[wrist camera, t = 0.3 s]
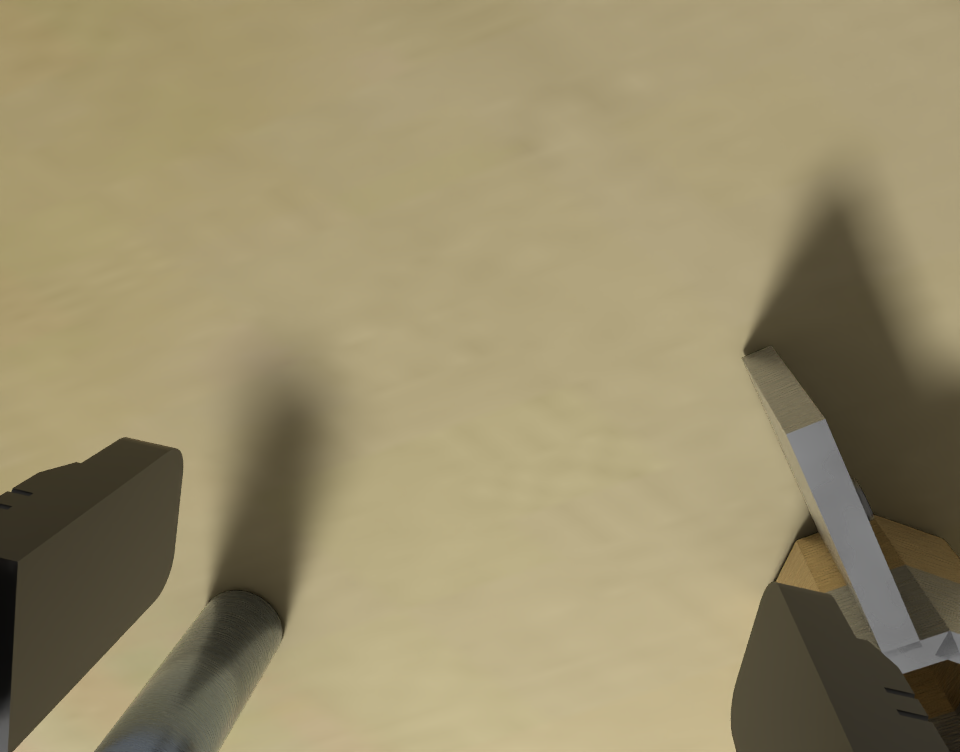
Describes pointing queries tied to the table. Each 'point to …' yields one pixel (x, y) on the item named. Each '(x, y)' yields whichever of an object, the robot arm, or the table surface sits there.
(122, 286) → the table surface
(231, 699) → the pin
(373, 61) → the table surface
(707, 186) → the table surface
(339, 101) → the table surface
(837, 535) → the hinge
